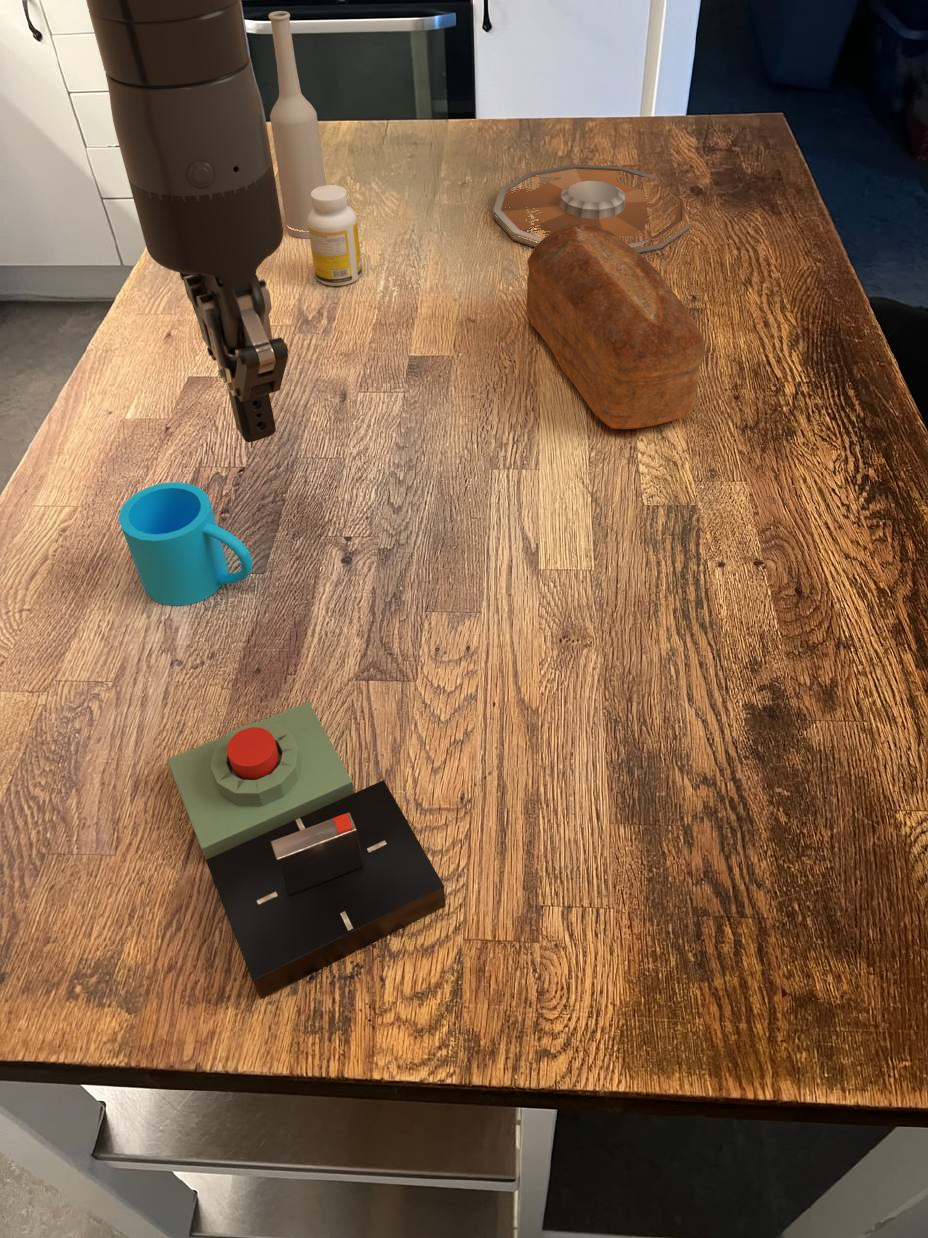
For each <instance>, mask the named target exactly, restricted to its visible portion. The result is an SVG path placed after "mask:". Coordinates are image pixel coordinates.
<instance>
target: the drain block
mask: <svg viewBox="0 0 928 1238" xmlns="http://www.w3.org/2000/svg"><path fill="white" fill-rule="evenodd" d="M252 727H258V728H263V729H265V730H267V731H269V732H270V733H271V734H272V735H273V737H274V739H275V743H276V746H277V750H278V754H279V759H278V763H277V765H276V767H275V768H274V769H273V770H272V771H271V772H270V773H269V774H268V775H266V776H264V777H261V778H258V779H245V778H242V777H240V776H238V775H237V774H236V773H235V772H234V771H233V769H232V766H231V763H230V760H229V757H228V754H227V746H228V743H229V741H230V740H231V738H232V737H233V736H234V735H235V734H236V733H238V732H240V731H241V730H244V729H247V728H252ZM166 762H167V766H168V767H169V770H170V773H171V776H172V778H173V779H174V783H175V785H176V787H177V790H178V793H179V796H180V799H181V801H182V803H183V806H184V809H185V811H186V814H187V816H188V819H189V821H190V823H191V826H192V829H193V831H194V834H195V837H196V839H197V842H198V844H199V848H200V850H201V852H202V854H203V856H204V858H205V861H206V860H207V859H209V858H211V857H213V856H215V855H218V854H220V853H222V852H224V851H227V850H229V849H231V848H233V847H236V846H238V845H240V844H242V843H244V842H247V841H249V840H251V839H253V838H256V837H258V836H260V835H262V834H264V833H267V832H269V831H271V830H273V829H276V828H278V827H280V826H282V825H285V824H287V823H289V822H291V821H293V820H296V819H298V818H300V817H302V816H305V815H307V814H309V813H311V812H313V811H316V810H318V809H320V808H322V807H325V806H327V805H329V804H331V803H334V802H336V801H338V800H340V799H342V798H345V797H347V796H349V795H351V794H354V793H355V787H354V782H353V780H352V778H351V776H350V775H349V773H348V771H347V769H346V767H345V765H344V764H343V762H342V760H341V758H340V757H339V754H338V752H337V751H336V749H335V747H334V745H333V743H332V741H331V739H330V737H329V736H328V734H327V732H326V730H325V728H324V726H323V725H322V723H321V720H320V719H319V717H318V715H317V713H316V712H315V709H314V708H313V706H312V703H311V702H310V701H305V702H303V703H301V704H299V705H296V706H293V707H291V708H289V709H286V710H284V711H282V712H279V713H277V714H274V715H271V716H269V717H267V718H264V719H262V720H260V721H258V722H249V723H247V724H245V725H242V726H239V727H237V728H235V729H232V730H229V731H228V733H227V734H225V735H222V736H220V737H218V738H215V739H213V740H210V741H209V742H206V743H203V744H201V745H199V746H196V747H194V748H191V749H189V750H187V751H184V752H181V753H179V754H177V755H174V756H171V757H168V758H167V759H166Z"/></svg>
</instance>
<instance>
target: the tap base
mask: <svg viewBox="0 0 928 1238" xmlns="http://www.w3.org/2000/svg"><path fill="white" fill-rule="evenodd" d="M346 813H350V815H351V817H352V820H353V822H354V825H355V827H356V830H357V835H358V840H359V846H360V851H361V856H362V861H363V867H361V868H358V869H356V870H353V871H351V872H348V873H346V874H343V875H340V876H338V877H335V878H333V879H330V880H328V881H325V882H322V883H320V884H317V885H315V886H312V887H309V888H307V889H304V890H302V891H299V892H297V893H294V894H291V895H288V893H287V890H286V887H285V884H284V881H283V878H282V875H281V872H280V869H279V866H278V863H277V860H276V856H275V853H274V850H273V847H272V844H271V841H274V840H276V839H279V838H282V837H285V836H287V835H290V834H293V833H295V832H298V831H301V830H303V829H306V828H309V827H312V826H314V825H317V824H320V823H322V822H325V821H328V820H330V819H333V818H335V817H338V816H340V815H343V814H346ZM205 864H206V865H207V868H208V870H209V873H210V876H211V878H212V881H213V883H214V886H215V889H216V891H217V894H218V896H219V898H220V901H221V904H222V907H223V909H224V912H225V914H226V916H227V920H228V922H229V924H230V927H231V930H232V933H233V935H234V937H235V940H236V943H237V945H238V947H239V950H240V953H241V955H242V959H243V960H244V963H245V965H246V966H245V967H246V968H247V971H248V973H249V976H250V978H251V981H252V983H253V986H254V989H255V991H256V993H257V995H258V997H259V999H260V1000H263V999H265V998H267V997H269V996H271V995H272V994H275V993H276V992H278V991H281V990H282V989H284V988H286V987H289V986H291V985H293V984H295V983H297V982H299V981H300V980H302V979H304V978H306V977H308V976H310V975H312V974H314V973H316V972H318V971H320V970H322V969H324V968H326V967H328V966H330V965H332V964H334V963H337V962H338V961H341V960H342V959H344V958H346V957H348V956H350V955H352V954H354V953H356V952H358V951H360V950H362V949H364V948H366V947H368V946H369V945H372V944H374V943H376V942H378V941H379V940H381V939H383V938H385V937H388V936H390V935H391V934H393V933H395V932H398V931H399V930H401V929H403V928H406V927H407V926H410V925H411V924H413V923H415V922H417V921H419V920H421V919H423V918H425V917H427V916H429V915H431V914H433V913H435V912H437V911H439V910H441V909H443V908H445V907H446V905H447V904H446V894H445V893H446V892H445V891H446V890H445V885H444V883H443V881H442V879H441V878H440V875H439V874H438V873H437V870H436V869H435V867H434V866H433V864H432V862H431V860H430V858H429V857H428V854H427V853H426V851H425V849H424V847H423V846H422V844H421V842H420V841H419V839H418V837H417V836H416V834H415V832H414V830H413V829H412V827H411V824H410V823H409V822H408V820H407V818H406V817H405V814H404V812H403V811H402V809H401V807H400V805H399V804H398V802H397V800H396V799H395V797H394V795H393V794H392V792H391V789H390V788H389V787H388V784H387V783H386V781H385V780H384V779H383V780H380V781H377V782H376V783H373V784H371V785H370V786H367V787H365V788H363V789H360V790H358V791H355V792H354V794H351V795H349V796H347V797H345V798H342V799H340V800H338V801H336V802H334V803H331V804H329V805H327V806H325V807H322V808H320V809H318V810H316V811H313V812H311V813H309V814H307V815H305V816H302V817H300V818H298V819H296V820H293V821H291V822H289V823H287V824H285V825H282V826H280V827H278V828H276V829H273V830H271V831H269V832H267V833H264V834H262V835H260V836H258V837H256V838H253V839H251V840H249V841H247V842H244V843H242V844H240V845H238V846H236V847H233V848H231V849H229V850H227V851H224V852H222V853H220V854H218V855H215V856H213V857H211V858H209V859H207V860H206V859H205Z"/></svg>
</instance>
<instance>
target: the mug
mask: <svg viewBox="0 0 928 1238" xmlns="http://www.w3.org/2000/svg"><path fill="white" fill-rule="evenodd" d="M214 513H215V512H214V510H213V506H212V503H211V500H210V498H209V496H208V493H207V492H205V491H204V490H203V489H201V488H200V487H199V486H196V485H193V484H191V483H188V482H179V481H172V482H161V483H157V484H155V485H154V484H153V485H151V486H147V487H145V488H144V489H142V490H139V491H138V492H136V493H135V494H133V495H132V496H131V497H130V498H128V499H127V500H126V501H125V502H124V504H123V506H122V507H121V508H120V510H119V514H118V522H119V525H120V528H121V531H122V534H123V536H124V539H125V541H126V544H127V546H128V549H129V552H130V556H131V558H132V560H133V563H134V566H135V569H136V571H137V574H138V577H139V579H140V582H141V584H142V587H143V590H144V593H145V594H146V595H147V596H148V597H149V598H150V599H151V600H152V601H154V602H156V603H159V604H161V605H166V606H173V607H174V606H175V607H180V606H189V605H192V604H195V603H198V602H201V601H204V600H205V599H208V598H209V597H211V596H213V595H214V594H216V592H218V591H219V589H221V587H222V586H223V585H232V584H238V583H240V582H242V581H244V580H246V579H247V578H248V577H249V575H250V574H251V572H252V571H253V557H252V555H251V553H250V552H249V549H248V548H247V547H246V546H245V545H244V543H243V542H242V541H241V540H240V539H239V538H238V537H236V536H235V535H234V534H232V533H231V532H230V531H228V530H227V529H224V528H223V527H220V526H218V525H217V521H216V517H215V514H214ZM223 544H224V545H225V546H226V547H228V548H229V549H230V550H231V551H232V552H233V553H234V555H236V556H237V559H238V560H239V562H240V564H241V567H240V570H238V571H237V572H231V573H229V566H228V561H227V557H226V554H225V550H224V546H223Z"/></svg>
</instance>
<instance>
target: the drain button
mask: <svg viewBox="0 0 928 1238" xmlns="http://www.w3.org/2000/svg"><path fill="white" fill-rule="evenodd" d="M227 754H228V757H229V760H230V763H231V766H232V769H233V771H234V772H235V773H236V774H237V775H238V776H240V777H242V778H245V779H258V778H261V777H264V776H266V775H268V774H269V773H270V772H271V771H272V770H273V769H274V768H275V767H276V765H277V763H278V759H279V754H278V750H277V746H276V743H275V739H274V737H273V735H272V734H271V733H270V732H269V731H267V730H265V729H263V728H258V727H252V728H247V729H244V730H241V731H240V732H238V733H236V734H235V735H234V736H233V737H232V738H231V740H230V741H229V743H228V746H227Z"/></svg>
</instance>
